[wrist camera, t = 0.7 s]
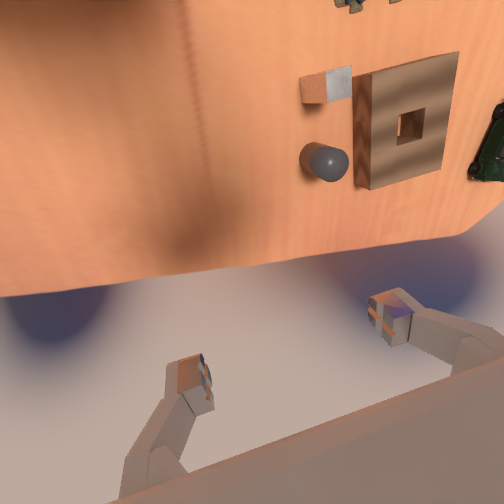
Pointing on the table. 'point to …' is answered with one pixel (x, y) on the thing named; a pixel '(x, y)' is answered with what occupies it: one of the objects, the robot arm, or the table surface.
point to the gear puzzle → (355, 4)
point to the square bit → (327, 86)
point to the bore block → (412, 121)
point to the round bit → (324, 161)
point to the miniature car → (491, 152)
